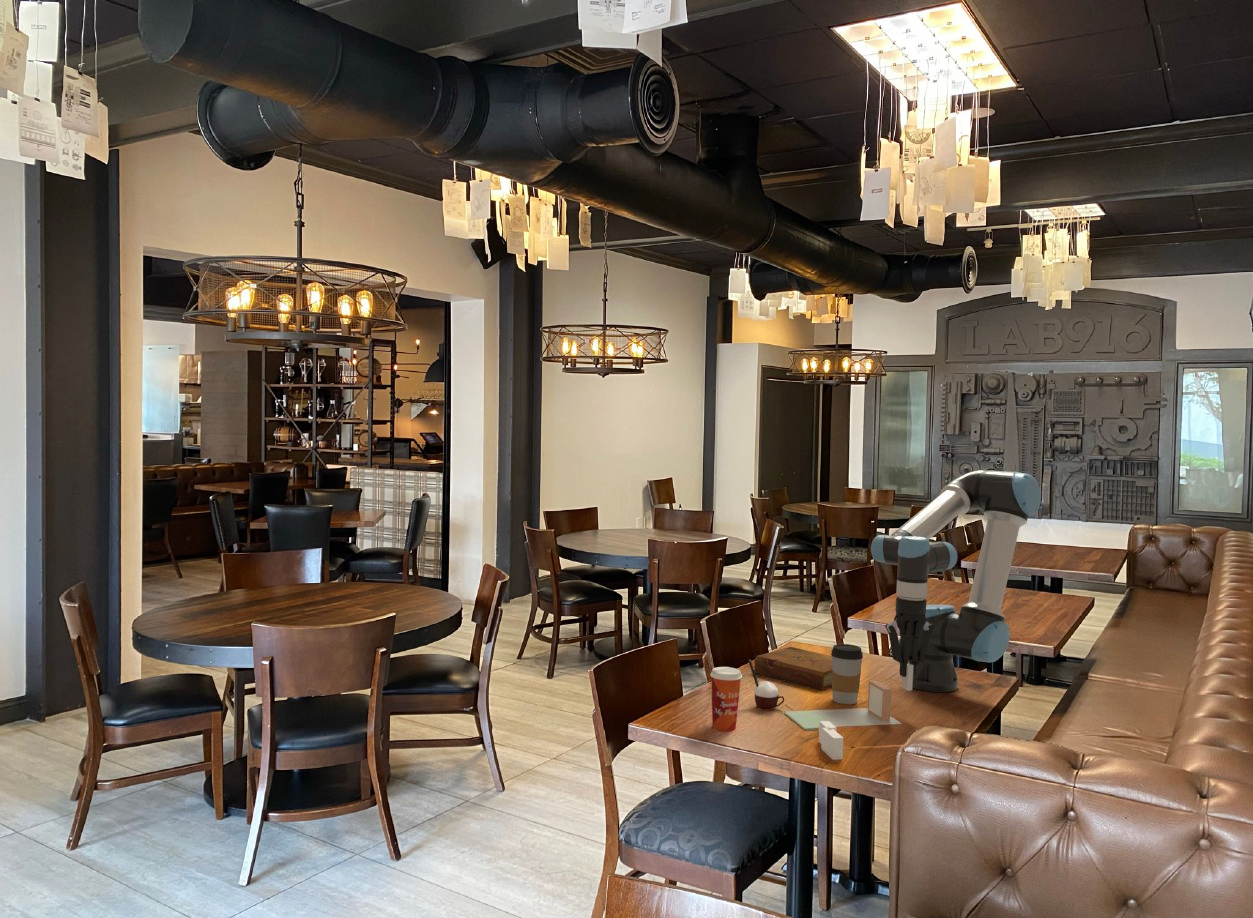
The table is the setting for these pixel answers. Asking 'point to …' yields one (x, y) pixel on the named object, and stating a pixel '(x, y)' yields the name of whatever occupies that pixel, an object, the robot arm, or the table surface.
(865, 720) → the mat
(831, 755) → the white stepped block
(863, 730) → the table surface
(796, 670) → the diary
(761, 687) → the cocoa
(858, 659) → the coffee cup
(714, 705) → the paper cup
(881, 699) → the tile
